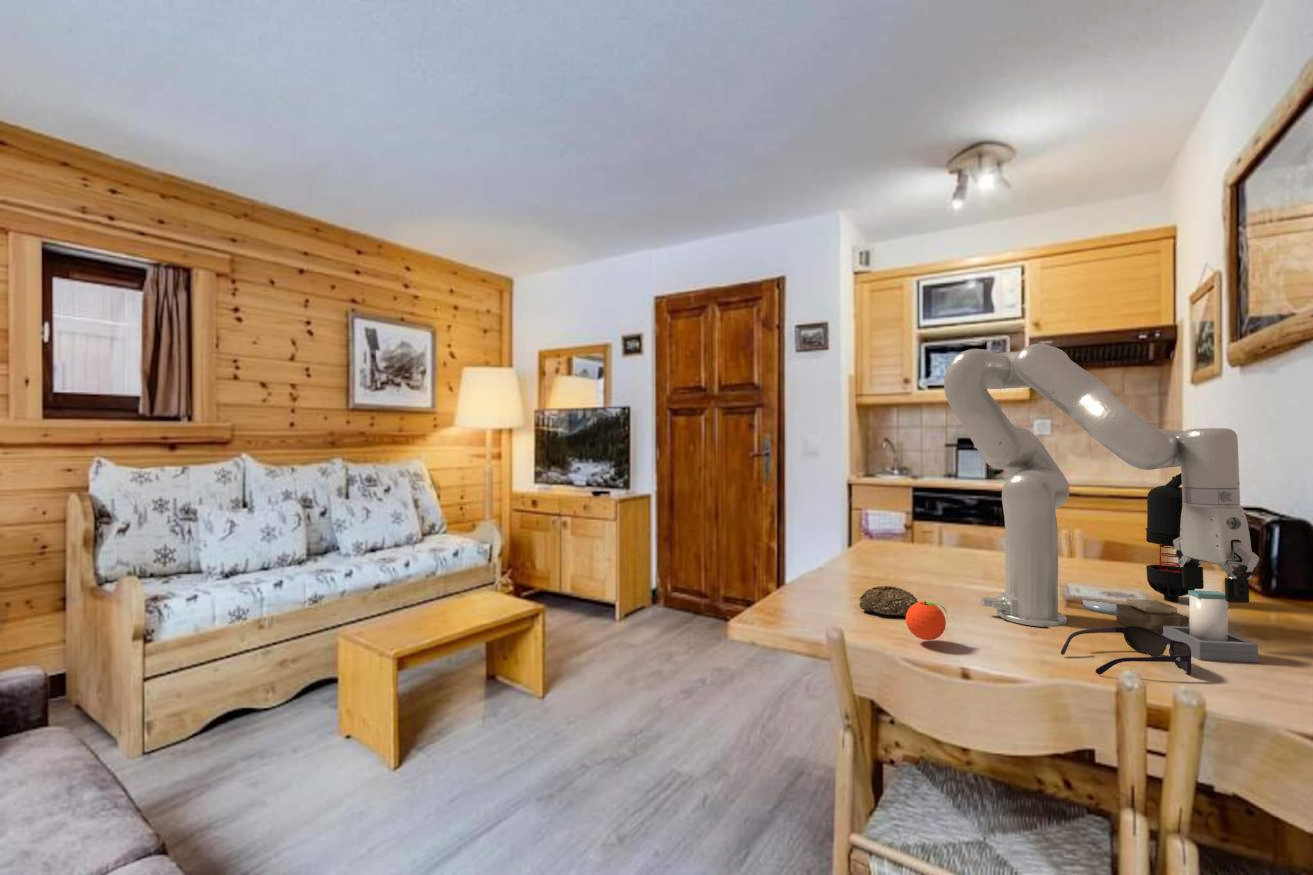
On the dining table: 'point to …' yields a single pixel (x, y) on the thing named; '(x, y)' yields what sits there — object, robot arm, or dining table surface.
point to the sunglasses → (1143, 646)
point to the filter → (1165, 537)
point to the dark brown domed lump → (887, 600)
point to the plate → (1100, 607)
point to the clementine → (925, 620)
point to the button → (1151, 606)
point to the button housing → (1149, 618)
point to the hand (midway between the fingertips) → (1214, 595)
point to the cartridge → (1208, 615)
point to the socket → (1215, 646)
